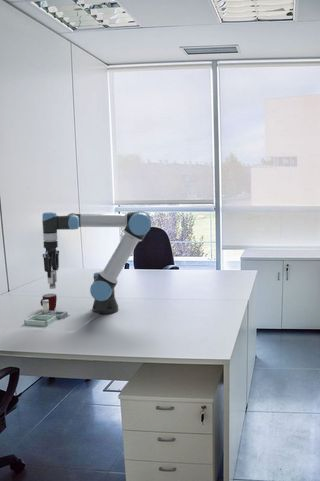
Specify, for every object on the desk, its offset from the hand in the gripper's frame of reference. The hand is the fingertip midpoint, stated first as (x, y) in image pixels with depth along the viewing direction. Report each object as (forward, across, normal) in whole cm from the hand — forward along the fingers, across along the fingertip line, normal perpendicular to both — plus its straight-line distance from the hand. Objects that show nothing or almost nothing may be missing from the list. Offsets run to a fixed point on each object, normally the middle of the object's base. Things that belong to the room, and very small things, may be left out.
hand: (52, 282), depth 263 cm
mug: (+21, -13, -11) cm, 27 cm away
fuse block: (+21, -2, -2) cm, 21 cm away
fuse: (+20, -2, -6) cm, 21 cm away
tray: (+21, +9, -3) cm, 23 cm away
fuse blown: (+3, 0, 0) cm, 3 cm away
